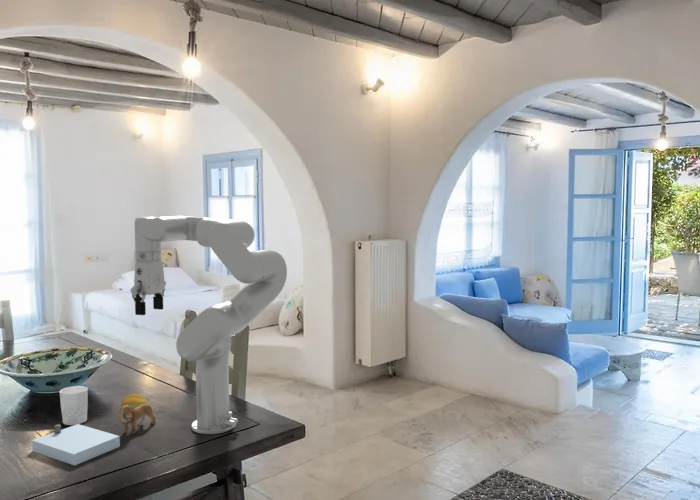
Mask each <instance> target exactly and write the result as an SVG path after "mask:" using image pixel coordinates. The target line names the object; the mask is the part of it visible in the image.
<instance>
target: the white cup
mask: <svg viewBox="0 0 700 500" xmlns="http://www.w3.org/2000/svg"><path fill="white" fill-rule="evenodd" d="M88 389H89V388H88V386H85V385H73V386H67V387H64V388H62V389H60V390H59V399H60V400H59V402H60V410H61V416H62V424H63V425H65V426H74V425H77V424H80V425H82V424H83V423H86V422H87V420H88V406H89V402H88V401H89V399H88V396H89V395H88V393H89V392H88V391H89V390H88Z"/></svg>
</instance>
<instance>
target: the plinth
mask: <svg viewBox="0 0 700 500" xmlns="http://www.w3.org/2000/svg"><path fill="white" fill-rule="evenodd" d="M120 441H121V440H120V435H118V434H113V433H110V432H108V431H107V432H106V431H103V430H100V429H96V428H94V427H89V426H86V425H83V424H77V425H70V426H68V427H66V428H63V429H62V425H61V424H55V425H54V432H51V433H49V434H48V433H47V434H46V435H43V436H40V437H37V438H34V439H31V444H32V445H31V449H32V452H34V453H37V454H40V455H42V456H45V457H49V458H52V459H53V460H54V459H55V460H57V461H59V462H63V463H66V464H69V465H71V466H77V465H79V464H81V463H84V462H87V461H88V460H91V459H94V458H96V457H99V456H101V455H103V454H105V453H108V452H110V451H113V450H116V449H117V448H120V447H121V444H120V443H121V442H120Z"/></svg>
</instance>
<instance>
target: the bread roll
mask: <svg viewBox="0 0 700 500" xmlns="http://www.w3.org/2000/svg"><path fill="white" fill-rule="evenodd" d="M141 404H149V403H148V400H147V398H146V397H145V396H144V395H142V394H139V393H138V394H137V393H134V394H129V395H127V396H125V397H124V398H123V399H122V400H121V404H120V407H122V406H123V405H129V406H131V407H132V408H136V407H138V406H140V405H141Z"/></svg>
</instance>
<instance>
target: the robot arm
mask: <svg viewBox="0 0 700 500" xmlns="http://www.w3.org/2000/svg"><path fill="white" fill-rule="evenodd" d="M254 239H255V229H254V228H253V226H252V225H250V223H248V222H246V221H243V220H238V219H237V220H236V219H226V218H225V219H223V218H221V219H220V218H214V217H213V218H212V217H201V216H200V217H199V216H198V217H197V216H187V215H186V216H184V215H173V216H172V215H171V216H139V217H137V218H135V219H134V253H135V254H134V255H135V258H134V259H135V260H134V261H135V267H134V278H133V284H134V285H133V286H132V287H131V288H130V292H131V293H130V294H131V297H132V299H133V302H134V312H135V315H136V316H145V315H146V313H147V312H146V301H145V299H146V297H147V296H151V295H154V296H152V297H153V298H152V299H153V301H152V304H153V305H152V306H153V307H152V308H153V310H164V296H165V291H166V286H167V285H166V284H167V282H166V281H165V272H164V266H163V261H162V243H165V242H167V243H168V242H173V241H193V242H197V243H198V244H199V246H201V247H204V248H210V249H212V251H213V253H214V254H215V255H216V257H217V258H218V259H219V260H220V262H221V263H222V264H223V266H224V267H225V268H226V269H227V270H228V272H229V273H230V274H231V275H232V277H233V278H234V279H235V280H237V281H238V282H240V283H243V284H245V285H246V286H244V287H243V288H242V289H240V291H239V292H238V293H236V294H235V296H234V297H232V298H231V299H229V300H227V301H224V302H221V303H218V304H217V303H216V304H214V305H211V306H209V307H207V308H205V309H204V310H203V311H201V312H200V313H199V314H198V315H197V316H196V317H195V318H194V319H193V320H191V322H190V323H188V324H187V326H185V328H184V329H182V330H181V332H180V333H179V334H178V336H177V339H176V343H175V345H176V346H175V348H176V352H177V354H178V356H179V357H180V358H181V359H183V360H184V361H187V362H196V365H195V392H196V420H193V422H192V423H191V430H192V431H193V432H195V433H197V434H202V435H216V434H217V435H218V434H222V433H225V432H226V433H227V432H229V431H230V430H232V429H234V428H236V426H237V424H238V423H239V418H236V417H233V411H230V380H229V379H230V377H229V373H230V370H229V368H230V367H229V364H230V362H229V360H230V353H231V346H232V336H234V335H236V334H238V333H241V332H242V331H243V330H245V328H246V327H248V325H250V324H251V322H253V321H254V320H255V319H256V318H257V317H258V316H259V315H260V314H261V313H262V312H263V311H264V310H265V309H266V308H267V307H268V306H270V305H271V304H272V303H273V302H274V301H275V299H277V297H278V296H279V295H280V294H281V292H282V290H283V289H284V287H285V283H287V282H286V281H287V277H288V270H287V269H288V268H287V262H286V260H285V258H284V256H283V255H282V254H280V253H279V252H278V251H276V250H271V249H263V250H262V249H260V250H256V251H255V250H253V251H250V250H249V249H248V248H250V246H251V245H252V244H253V242H254V241H255V240H254Z"/></svg>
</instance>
